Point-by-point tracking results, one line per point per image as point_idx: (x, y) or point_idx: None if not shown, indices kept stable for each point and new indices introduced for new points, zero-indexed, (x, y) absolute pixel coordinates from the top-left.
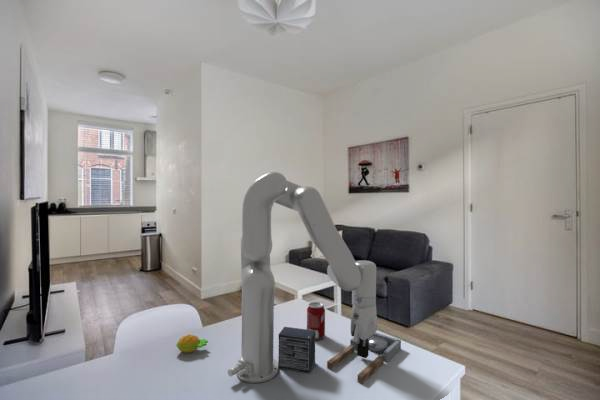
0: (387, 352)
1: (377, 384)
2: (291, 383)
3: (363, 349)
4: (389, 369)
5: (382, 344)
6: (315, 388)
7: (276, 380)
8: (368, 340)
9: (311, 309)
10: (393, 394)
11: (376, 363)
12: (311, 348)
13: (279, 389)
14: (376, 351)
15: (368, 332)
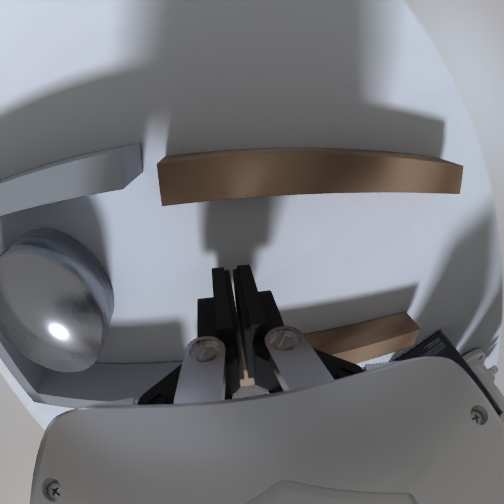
0: (104, 157)
1: (404, 91)
2: (477, 319)
3: (270, 316)
4: (212, 83)
5: (37, 269)
6: (486, 269)
7: (471, 343)
8: (193, 361)
9: None
10: (412, 13)
11: (305, 154)
12: (480, 388)
13: (492, 315)
14: (94, 268)
15: (392, 444)
